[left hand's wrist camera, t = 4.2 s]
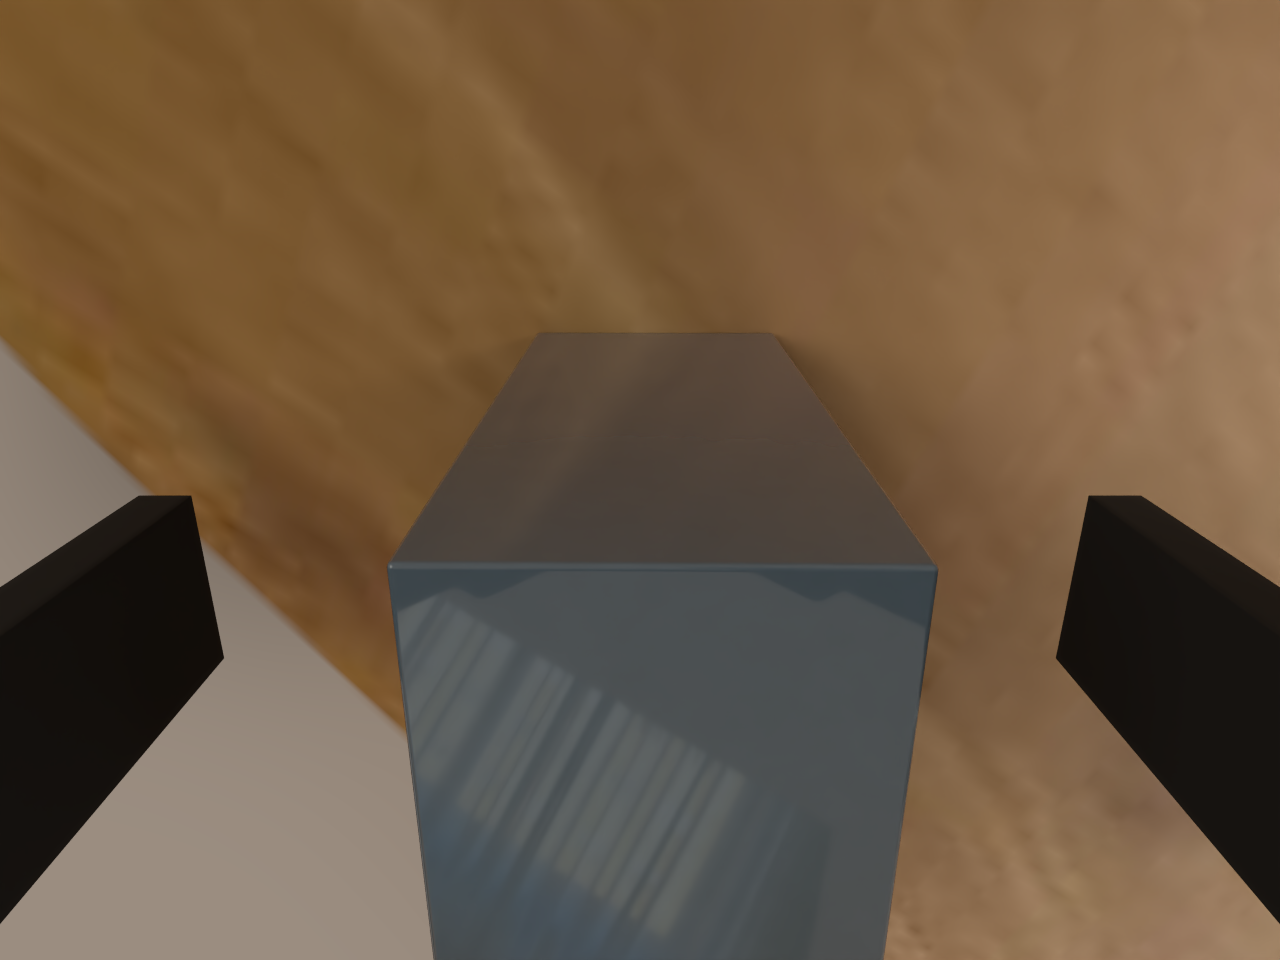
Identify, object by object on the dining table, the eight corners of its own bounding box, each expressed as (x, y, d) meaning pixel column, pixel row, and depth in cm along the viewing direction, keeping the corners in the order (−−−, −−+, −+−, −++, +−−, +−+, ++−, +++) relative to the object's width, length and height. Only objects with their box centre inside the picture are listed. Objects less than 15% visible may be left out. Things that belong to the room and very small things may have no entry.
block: (546, 561, 19) (434, 991, 9) (536, 332, 17) (382, 563, 7) (761, 562, 19) (880, 996, 9) (774, 332, 17) (940, 566, 7)
